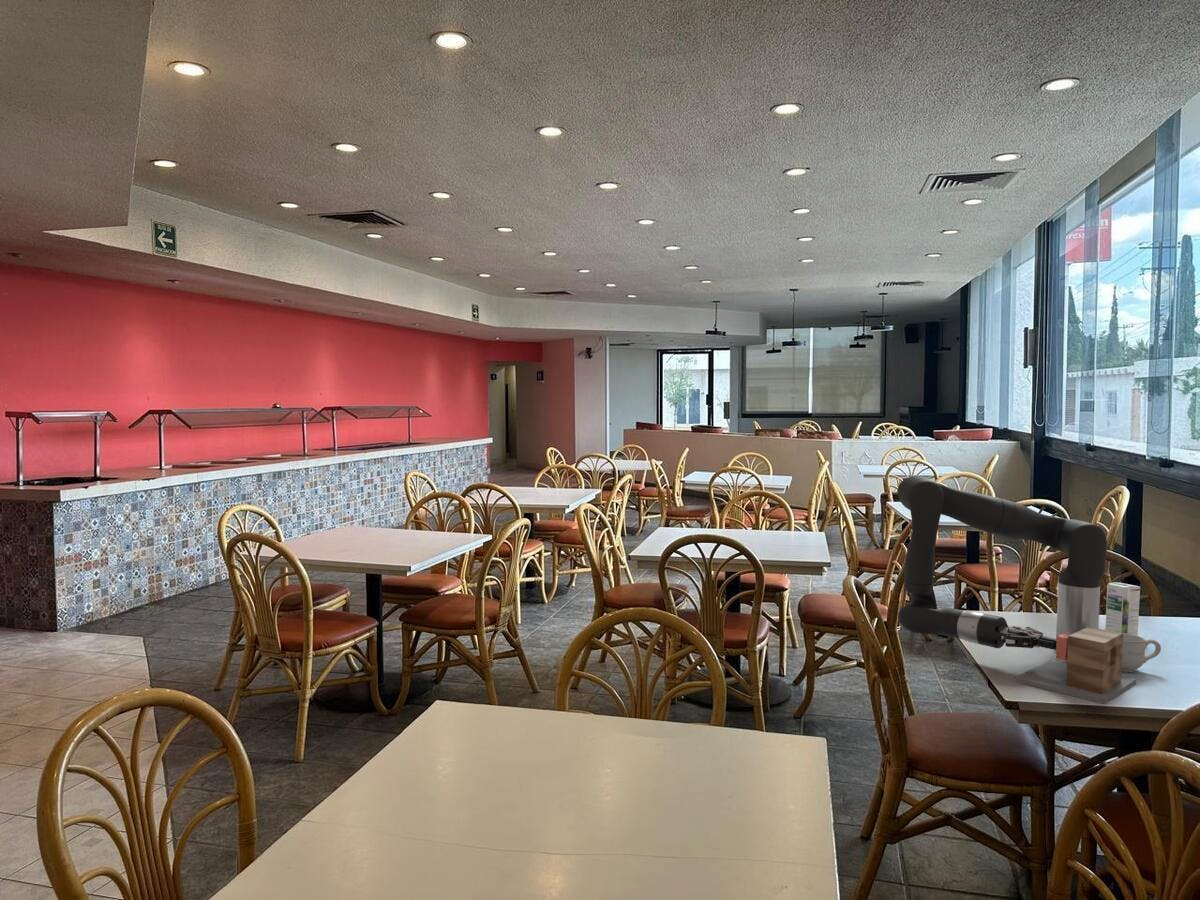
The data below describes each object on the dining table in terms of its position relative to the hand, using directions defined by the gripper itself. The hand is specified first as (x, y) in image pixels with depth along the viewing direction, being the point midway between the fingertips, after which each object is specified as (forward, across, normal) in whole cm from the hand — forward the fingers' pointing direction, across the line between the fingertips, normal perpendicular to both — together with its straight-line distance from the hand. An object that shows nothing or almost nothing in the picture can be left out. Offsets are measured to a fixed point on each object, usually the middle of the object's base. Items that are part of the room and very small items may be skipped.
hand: (1058, 645), depth 185 cm
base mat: (+3, +1, +8) cm, 9 cm away
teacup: (+7, +21, +8) cm, 24 cm away
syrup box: (-2, +52, +8) cm, 53 cm away
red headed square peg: (+5, 0, +3) cm, 6 cm away
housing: (+7, 0, +8) cm, 11 cm away
